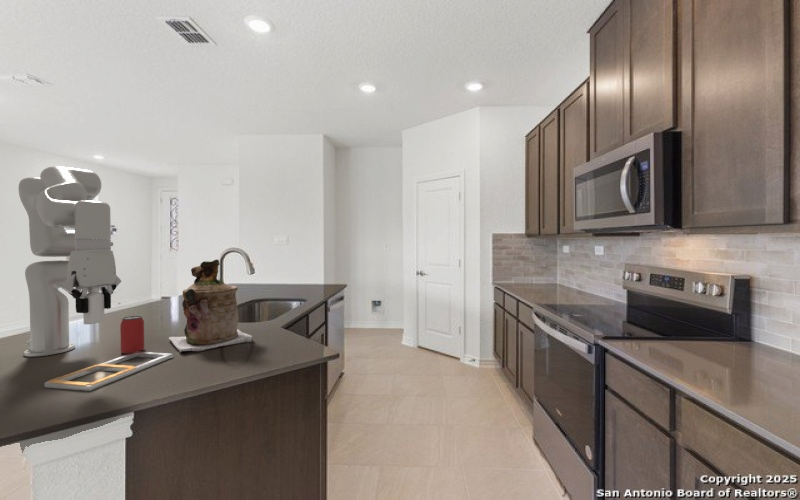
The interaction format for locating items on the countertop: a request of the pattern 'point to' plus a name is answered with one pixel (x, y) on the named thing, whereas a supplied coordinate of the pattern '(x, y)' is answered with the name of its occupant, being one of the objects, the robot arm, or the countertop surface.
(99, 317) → the eye dropper bottle
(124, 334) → the beer can
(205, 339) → the cookie jar
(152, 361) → the rail
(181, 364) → the countertop surface
